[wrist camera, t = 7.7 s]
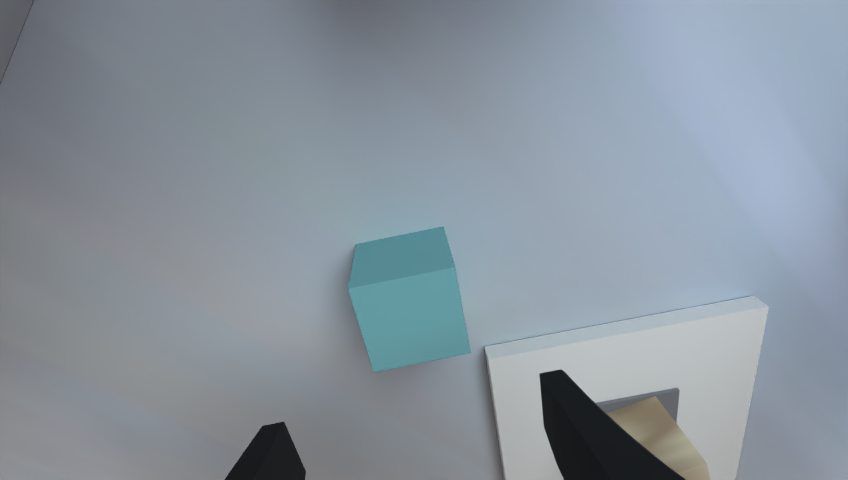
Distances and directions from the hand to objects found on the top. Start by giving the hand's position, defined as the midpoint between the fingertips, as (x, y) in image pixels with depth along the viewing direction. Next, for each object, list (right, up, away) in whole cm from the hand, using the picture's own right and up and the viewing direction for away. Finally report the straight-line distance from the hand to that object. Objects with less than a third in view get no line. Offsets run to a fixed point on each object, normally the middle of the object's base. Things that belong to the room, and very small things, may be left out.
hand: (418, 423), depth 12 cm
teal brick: (-1, +4, +8) cm, 9 cm away
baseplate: (+11, -5, +13) cm, 18 cm away
